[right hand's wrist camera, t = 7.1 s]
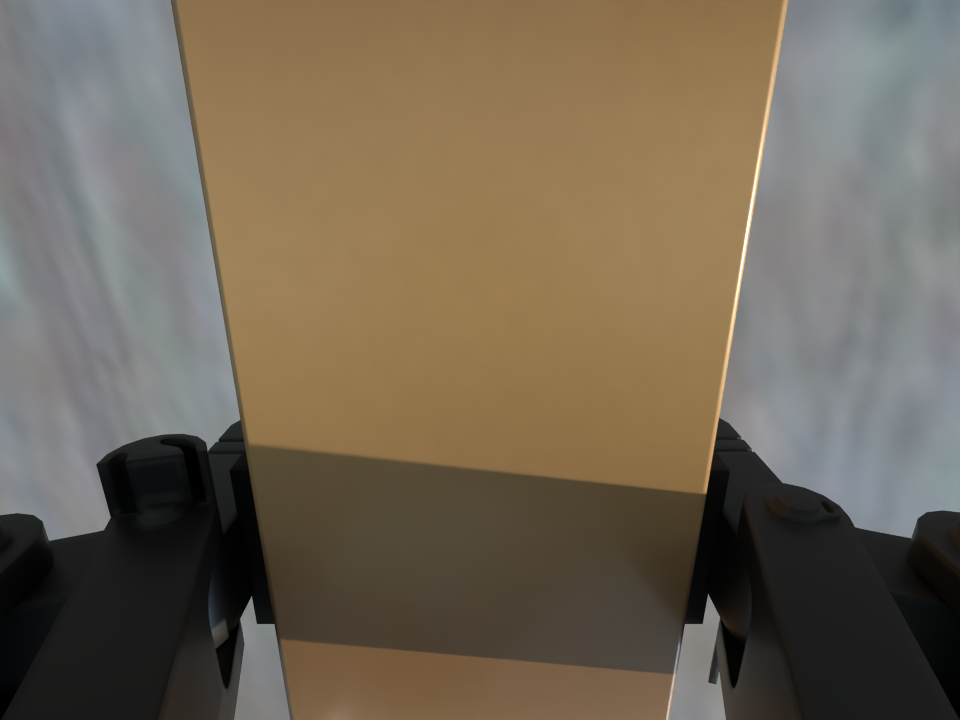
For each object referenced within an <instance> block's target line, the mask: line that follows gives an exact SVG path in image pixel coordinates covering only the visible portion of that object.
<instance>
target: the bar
mask: <svg viewBox="0 0 960 720" xmlns="http://www.w3.org/2000/svg"><path fill="white" fill-rule="evenodd" d="M171 4H172V10H173V16H174V22H175V28H176V34H177V40H178V46H179V52H180V58H181V64H182V70H183V76H184V82H185V88H186V94H187V100H188V106H189V112H190V118H191V124H192V130H193V136H194V142H195V148H196V154H197V160H198V166H199V172H200V178H201V184H202V190H203V196H204V202H205V208H206V214H207V220H208V226H209V232H210V238H211V244H212V250H213V256H214V262H215V268H216V274H217V280H218V286H219V293H220V299H221V305H222V311H223V317H224V323H225V329H226V335H227V341H228V347H229V353H230V359H231V365H232V371H233V377H234V383H235V389H236V395H237V401H238V407H239V413H240V419H241V425H242V431H243V437H244V443H245V449H246V455H247V461H248V467H249V473H250V479H251V485H252V491H253V497H254V503H255V509H256V515H257V521H258V527H259V533H260V539H261V545H262V551H263V557H264V563H265V569H266V575H267V581H268V587H269V593H270V599H271V605H272V611H273V617H274V623H275V630H276V636H277V642H278V648H279V654H280V660H281V666H282V672H283V678H284V684H285V690H286V696H287V702H288V708H289V714H290V720H669V716H670V710H671V704H672V698H673V692H674V686H675V680H676V674H677V668H678V662H679V656H680V650H681V644H682V638H683V632H684V626H685V620H686V614H687V608H688V602H689V596H690V590H691V583H692V577H693V571H694V565H695V559H696V553H697V547H698V541H699V535H700V529H701V523H702V517H703V511H704V505H705V499H706V493H707V487H708V481H709V475H710V469H711V463H712V457H713V451H714V445H715V439H716V433H717V427H718V421H719V415H720V409H721V403H722V396H723V390H724V384H725V378H726V372H727V366H728V360H729V354H730V348H731V342H732V336H733V330H734V324H735V318H736V312H737V306H738V300H739V294H740V288H741V282H742V276H743V270H744V264H745V258H746V252H747V246H748V240H749V234H750V228H751V222H752V216H753V209H754V203H755V197H756V191H757V185H758V179H759V173H760V167H761V161H762V155H763V149H764V143H765V137H766V131H767V125H768V119H769V113H770V107H771V101H772V95H773V89H774V83H775V77H776V71H777V65H778V59H779V53H780V47H781V41H782V35H783V29H784V22H785V16H786V10H787V4H788V0H171Z"/></svg>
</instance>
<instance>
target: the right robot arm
mask: <svg viewBox="0 0 960 720" xmlns="http://www.w3.org/2000/svg"><path fill="white" fill-rule="evenodd" d="M96 465H97V468H98V472H99V476H100V479H101V483H102V487H103V490H104V494H105V498H106V501H107V505H108V508H109V512H110V516H111V519H110V520H109V522H108V524H107V526H106V528H105V530H103V531H99V532H95V533H89V534H84V535H79V536H73V537H68V538H63V539H58V540H52V541H49V540H48V537H47V534H46V531H45V528H44V525H43V522H42V521H41V520H40V519H38V518H37V517H35V516H34V515H27V514H19V513H16V514H8V515H0V720H234V716H235V709H236V701H237V694H238V687H239V679H240V672H241V665H242V657H243V650H244V639H243V632H242V627H241V622H240V618H241V616H242V614H243V612H244V610H245V608H246V606H247V604H248V602H249V600H250V598H251V596H252V599H253V604H254V610H255V615H256V621H257V624H275V623H274V617H273V611H272V605H271V599H270V593H269V587H268V581H267V575H266V569H265V563H264V557H263V551H262V545H261V539H260V533H259V527H258V521H257V515H256V509H255V503H254V497H253V491H252V485H251V479H250V473H249V467H248V461H247V455H246V449H245V443H244V437H243V431H242V425H241V420H240V421H238V422H236V423H234V424H233V425H231V426H230V427H229V428H228V429H227V431H226V432H225V433H224V434H223V435H222V436H221V437H220V438H219V442H216V443H215V444H214V445H213V446H212V447H211V449H210V450H209V451H207V446H206V442H204V441H203V440H202V439H200V438H199V437H197V436H191V435H186V434H168V435H160V436H155V437H149V438H144V439H141V440H138V441H135V442H132V443H129V444H126V445H124V446H122V447H120V448H118V449H116V450H114V451H112V452H111V453H109V454H107V455H106V456H105V457H104V458H103V459H102V460H101V461H100V462H98V463H97V464H96ZM708 594H709V596H710V598H711V600H712V602H713V604H714V606H715V608H716V610H717V612H718V614H719V616H720V622H719V627H718V632H717V637H716V642H715V647H714V653H713V658H712V663H711V668H710V674H709V681H708V682H709V683H713V684H716V683H717V678H718V673H719V672H720V678H721V685H722V693H723V700H724V707H725V715H726V720H960V513H959V512H951V511H935V512H927V513H925V514H924V515H922V516H921V517H920V518H918V520H917V523H916V526H915V529H914V532H913V535H912V539H911V538H906V537H901V536H895V535H890V534H885V533H879V532H874V531H869V530H864V529H859V528H855V527H854V525H853V523H852V521H851V519H850V518H849V516H848V515H847V514H846V513H845V512H844V510H843V509H842V508H841V507H840V506H839V505H837V504H836V503H834V502H833V501H831V500H830V499H828V498H827V497H825V496H823V495H821V494H818V493H816V492H814V491H811V490H809V489H806V488H803V487H799V486H794V485H790V484H785V483H782V482H781V481H780V480H779V479H778V478H777V476H776V475H775V474H774V473H773V472H772V471H771V470H770V469H769V468H768V466H767V465H766V464H765V463H764V462H763V461H762V460H761V459H760V458H759V456H758V455H757V454H756V453H755V452H752V449H751V448H750V446H749V445H748V444H747V443H746V442H745V441H744V440H741V436H740V435H739V434H738V433H737V432H736V431H735V430H734V429H733V428H732V426H731V425H730V424H729V423H727V422H726V421H724V420H722V419H720V418H719V421H718V427H717V433H716V439H715V445H714V451H713V457H712V463H711V469H710V475H709V481H708V487H707V493H706V499H705V505H704V511H703V517H702V523H701V529H700V535H699V541H698V547H697V553H696V559H695V565H694V571H693V577H692V583H691V590H690V596H689V602H688V608H687V614H686V620H685V624H703V619H704V613H705V608H706V602H707V597H708Z"/></svg>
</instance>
